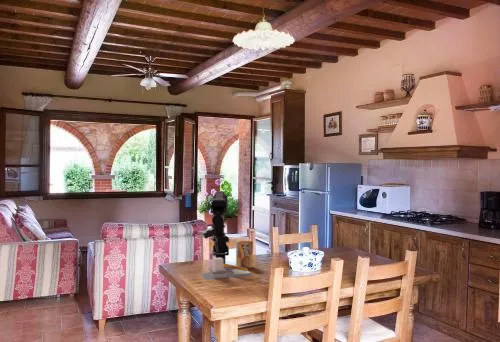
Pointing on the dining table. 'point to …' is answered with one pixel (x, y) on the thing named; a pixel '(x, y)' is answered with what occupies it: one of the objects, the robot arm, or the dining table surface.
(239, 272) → the socket board
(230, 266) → the clip
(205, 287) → the dining table surface
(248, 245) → the candy box
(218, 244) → the robot arm
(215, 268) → the plug
